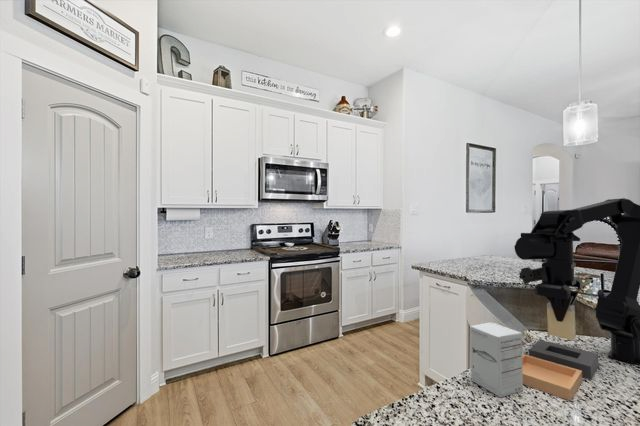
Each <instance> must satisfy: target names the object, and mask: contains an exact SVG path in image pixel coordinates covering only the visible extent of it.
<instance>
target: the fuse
mask: <svg viewBox="0 0 640 426" xmlns="http://www.w3.org/2000/svg"><path fill="white" fill-rule="evenodd" d="M546 310H547V311H546V312H547V314H546V315H547V320H546V321H547V336H552V337H557V338H561V339H564V340H570V341H574V340H575V339H576V337H577V336H576V312H575V311H576V308H575V305H574V304H573V305H570V306H569V308H568V310H567V313H566V315H565V317H564V319H563V321H562V322H560V321H557V320H556V317H555V314H554V311H553V308H552V306H551V303H550V301H548V302H547V303H546Z"/></svg>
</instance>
